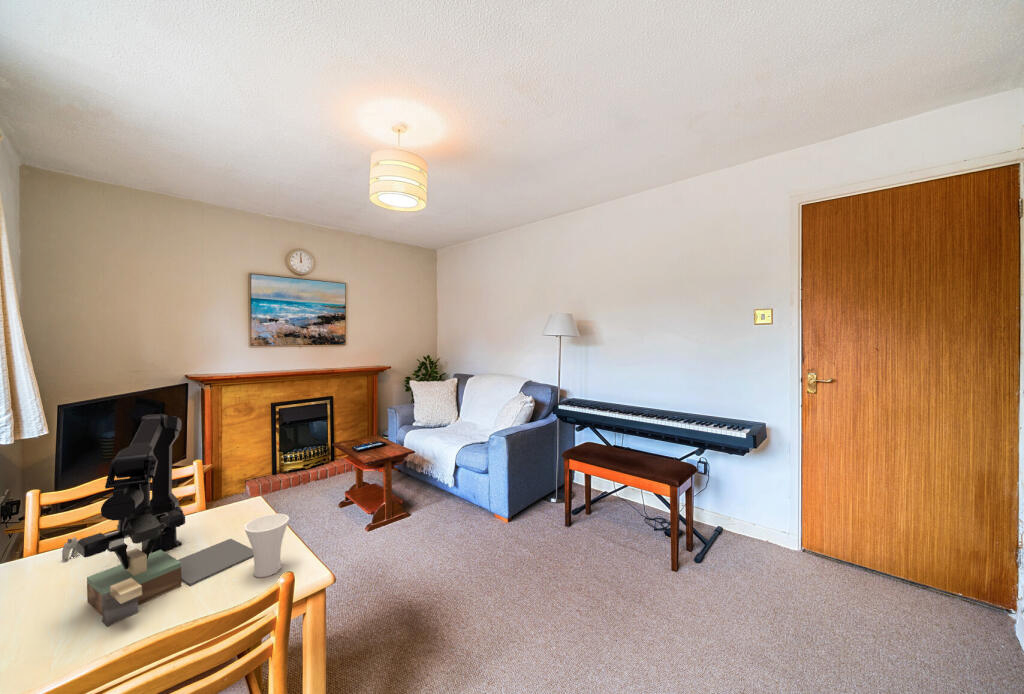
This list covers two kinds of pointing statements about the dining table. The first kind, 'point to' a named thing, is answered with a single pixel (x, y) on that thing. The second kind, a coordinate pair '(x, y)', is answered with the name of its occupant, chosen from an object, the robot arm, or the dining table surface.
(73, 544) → the caliper
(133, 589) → the wooden block
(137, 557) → the lid
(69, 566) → the dining table surface
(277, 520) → the cup
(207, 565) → the mat
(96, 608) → the toolbox
